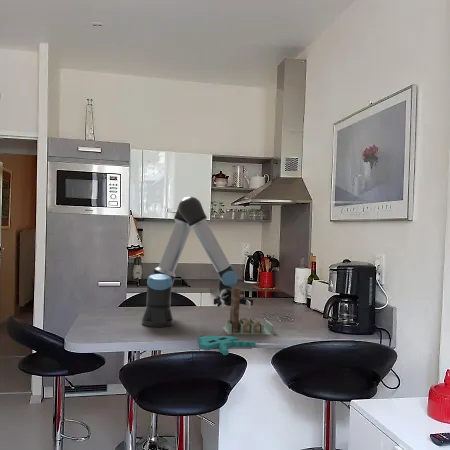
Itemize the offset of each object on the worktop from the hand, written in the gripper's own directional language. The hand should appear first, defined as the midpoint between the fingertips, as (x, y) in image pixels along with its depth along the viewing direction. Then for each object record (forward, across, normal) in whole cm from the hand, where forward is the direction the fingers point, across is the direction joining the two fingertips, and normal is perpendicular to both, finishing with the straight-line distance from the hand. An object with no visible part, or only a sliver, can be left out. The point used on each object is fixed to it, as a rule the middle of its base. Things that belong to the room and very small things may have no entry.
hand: (236, 305), depth 210 cm
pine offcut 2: (-4, -10, -12) cm, 16 cm away
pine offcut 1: (-4, -5, -12) cm, 14 cm away
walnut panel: (-4, 0, -12) cm, 13 cm away
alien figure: (+18, +9, -14) cm, 25 cm away
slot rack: (-4, -7, -14) cm, 16 cm away
